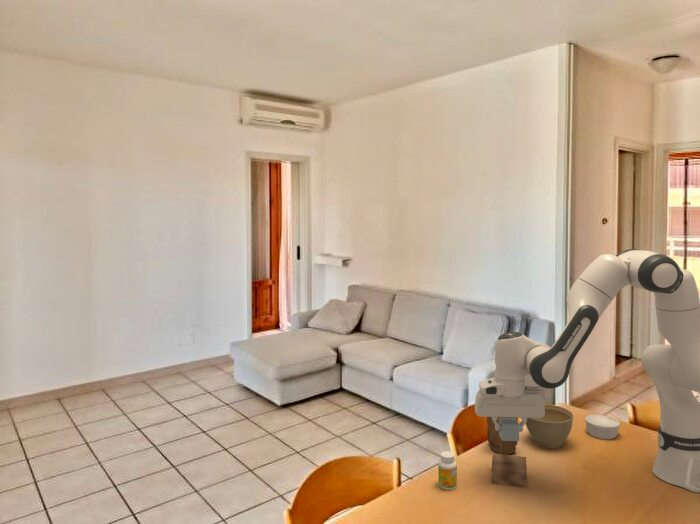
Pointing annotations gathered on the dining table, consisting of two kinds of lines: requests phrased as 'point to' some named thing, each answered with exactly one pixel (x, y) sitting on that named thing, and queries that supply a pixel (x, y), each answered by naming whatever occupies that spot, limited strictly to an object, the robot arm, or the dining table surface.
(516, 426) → the slate cube
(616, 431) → the ramekin
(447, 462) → the supplement bottle
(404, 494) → the dining table surface
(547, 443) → the planter bowl
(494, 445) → the brown rounded block
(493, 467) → the walnut block
